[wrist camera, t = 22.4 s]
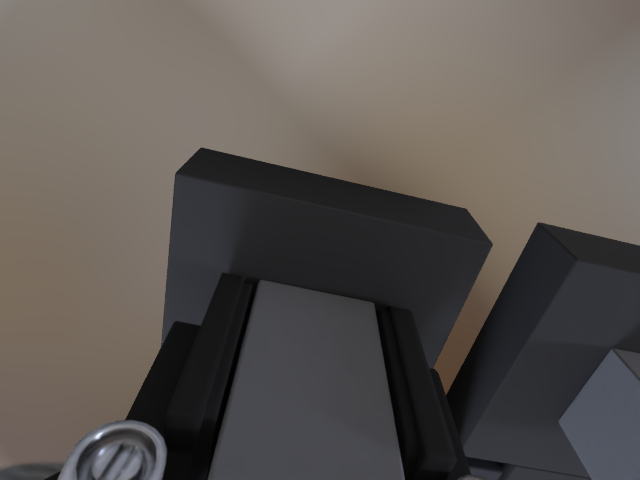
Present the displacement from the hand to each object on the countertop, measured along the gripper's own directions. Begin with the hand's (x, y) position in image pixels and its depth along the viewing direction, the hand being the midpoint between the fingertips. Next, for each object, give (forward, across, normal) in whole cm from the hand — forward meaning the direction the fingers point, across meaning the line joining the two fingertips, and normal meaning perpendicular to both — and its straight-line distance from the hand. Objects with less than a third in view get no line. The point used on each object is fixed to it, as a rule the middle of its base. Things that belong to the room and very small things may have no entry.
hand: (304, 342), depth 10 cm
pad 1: (+2, 0, +1) cm, 3 cm away
